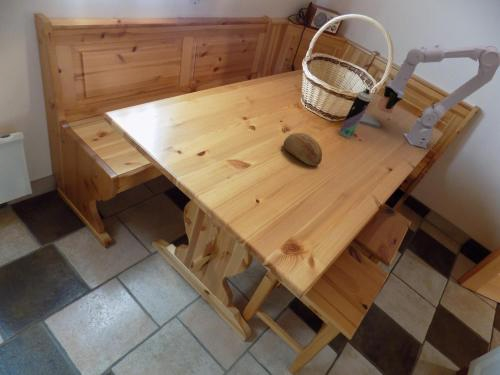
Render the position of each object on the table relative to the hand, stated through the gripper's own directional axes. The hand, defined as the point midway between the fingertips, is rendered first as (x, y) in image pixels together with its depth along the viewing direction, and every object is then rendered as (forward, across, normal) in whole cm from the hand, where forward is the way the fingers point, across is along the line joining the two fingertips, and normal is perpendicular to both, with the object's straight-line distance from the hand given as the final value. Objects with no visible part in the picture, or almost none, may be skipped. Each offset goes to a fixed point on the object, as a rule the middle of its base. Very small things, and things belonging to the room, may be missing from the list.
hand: (385, 105), depth 144 cm
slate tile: (+9, 0, -5) cm, 10 cm away
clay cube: (+2, 0, 0) cm, 2 cm away
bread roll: (+10, +44, -42) cm, 62 cm away
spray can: (+9, +19, -20) cm, 29 cm away
